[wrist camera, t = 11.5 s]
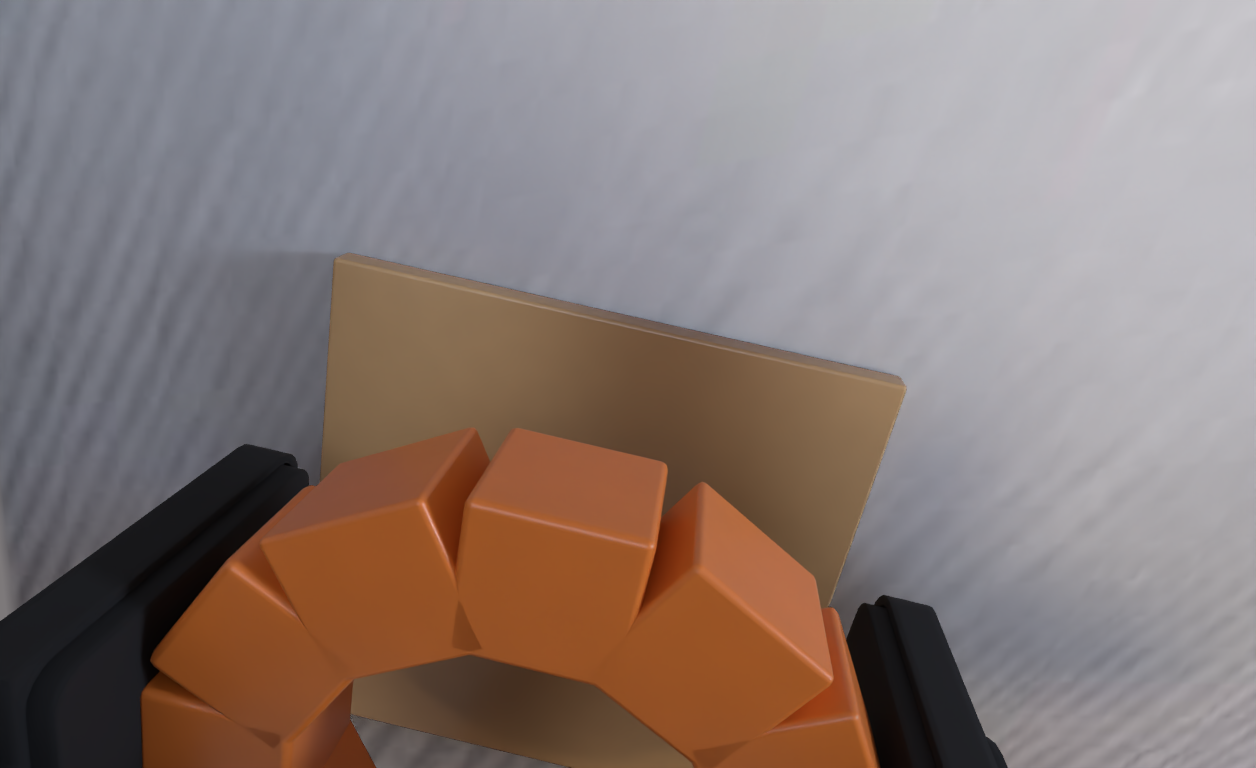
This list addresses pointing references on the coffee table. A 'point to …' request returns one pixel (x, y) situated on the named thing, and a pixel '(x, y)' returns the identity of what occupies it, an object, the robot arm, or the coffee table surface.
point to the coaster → (601, 416)
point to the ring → (507, 611)
